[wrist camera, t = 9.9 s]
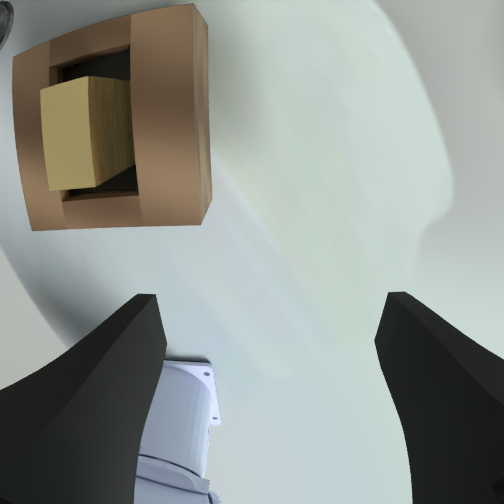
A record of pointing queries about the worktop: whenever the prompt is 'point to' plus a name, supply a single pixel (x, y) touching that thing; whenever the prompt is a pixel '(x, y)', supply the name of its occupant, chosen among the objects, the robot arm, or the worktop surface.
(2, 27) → the salt shaker
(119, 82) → the block
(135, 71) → the walnut box
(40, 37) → the worktop surface
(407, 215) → the worktop surface
